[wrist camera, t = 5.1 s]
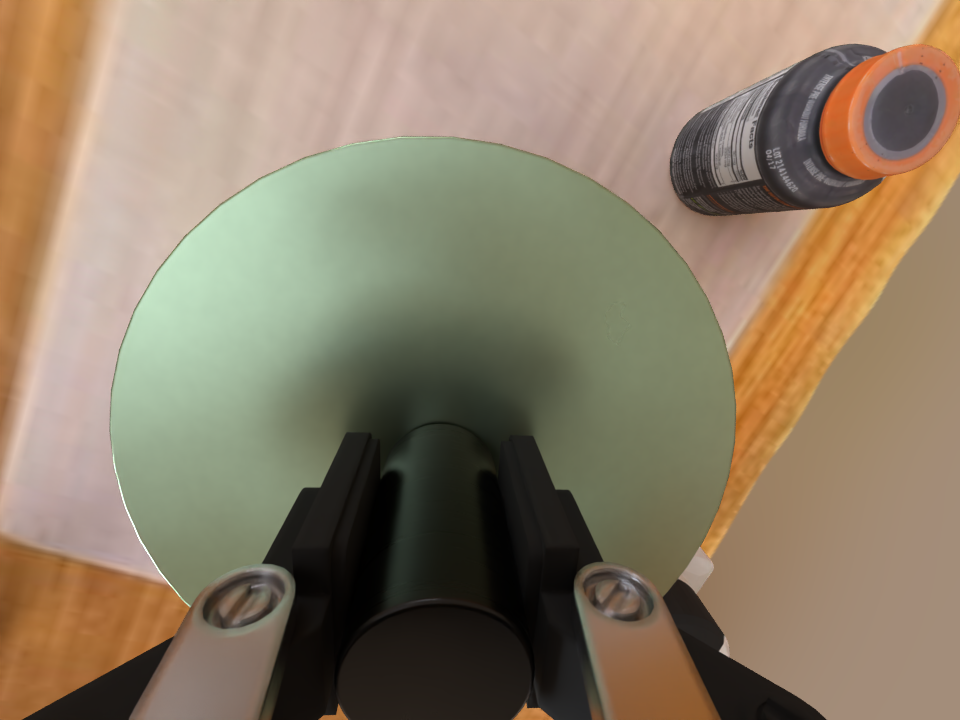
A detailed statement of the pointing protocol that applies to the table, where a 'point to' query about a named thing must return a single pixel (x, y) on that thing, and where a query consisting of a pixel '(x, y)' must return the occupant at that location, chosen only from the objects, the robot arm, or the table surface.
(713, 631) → the medicine bottle
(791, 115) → the pill bottle
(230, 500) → the lid
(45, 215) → the table surface
